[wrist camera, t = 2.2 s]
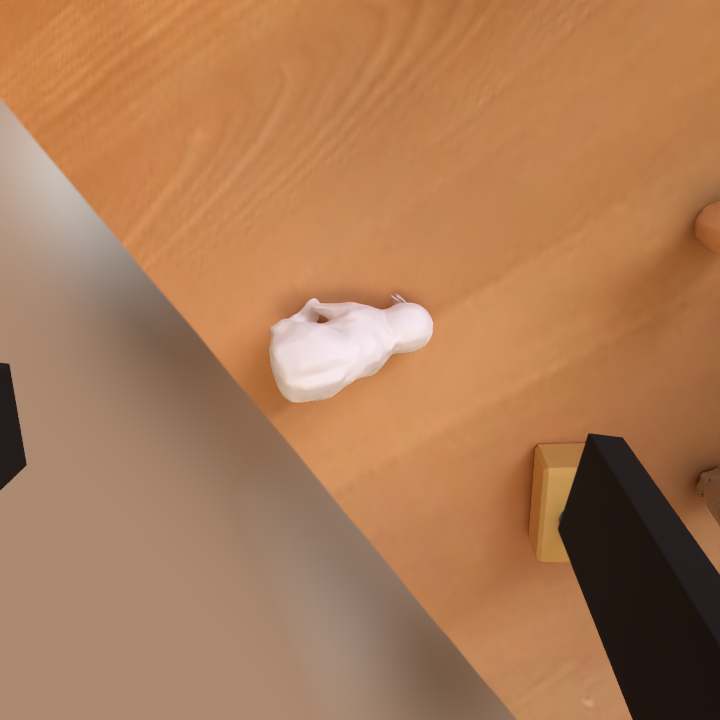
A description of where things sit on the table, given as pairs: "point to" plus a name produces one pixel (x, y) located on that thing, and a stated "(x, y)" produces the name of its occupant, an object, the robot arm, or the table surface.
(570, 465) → the rubber stamp
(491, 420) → the table surface
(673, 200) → the table surface
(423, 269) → the table surface
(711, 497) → the handle
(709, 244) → the milkshake
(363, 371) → the white lumpy piece
